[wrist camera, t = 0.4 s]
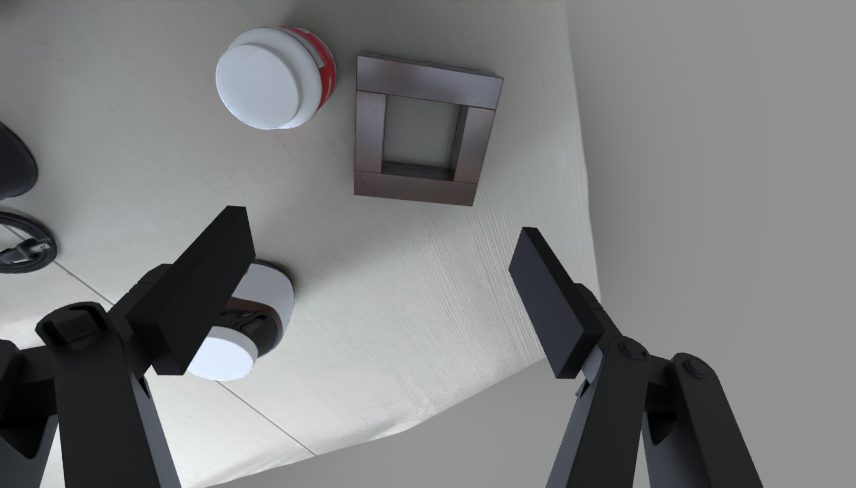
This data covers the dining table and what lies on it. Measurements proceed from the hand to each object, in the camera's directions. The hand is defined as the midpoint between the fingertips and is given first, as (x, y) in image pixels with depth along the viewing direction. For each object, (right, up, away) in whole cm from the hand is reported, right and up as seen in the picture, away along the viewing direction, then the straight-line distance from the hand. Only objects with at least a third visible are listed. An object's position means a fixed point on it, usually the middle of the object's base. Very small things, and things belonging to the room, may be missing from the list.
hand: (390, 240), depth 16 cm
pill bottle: (-9, +15, +13) cm, 22 cm away
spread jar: (-21, -6, +26) cm, 34 cm away
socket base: (+1, +11, +16) cm, 20 cm away
